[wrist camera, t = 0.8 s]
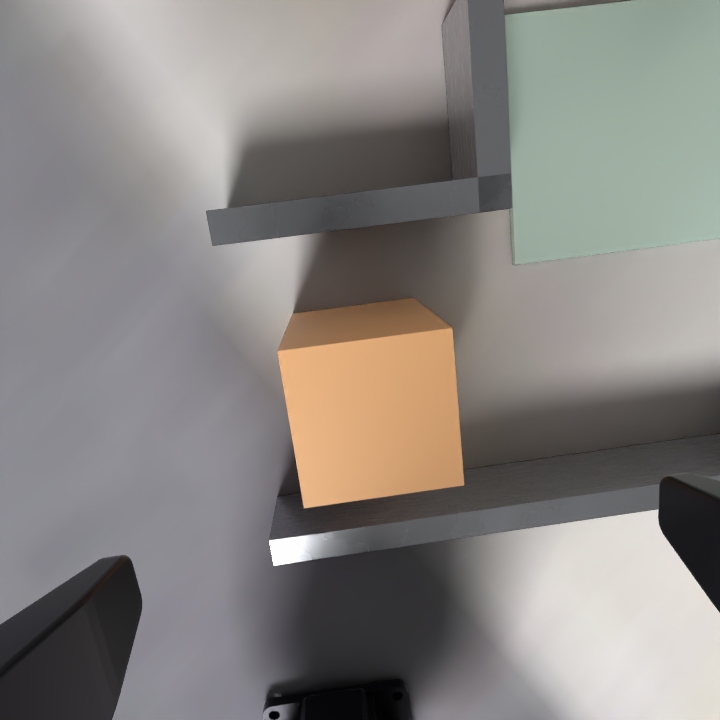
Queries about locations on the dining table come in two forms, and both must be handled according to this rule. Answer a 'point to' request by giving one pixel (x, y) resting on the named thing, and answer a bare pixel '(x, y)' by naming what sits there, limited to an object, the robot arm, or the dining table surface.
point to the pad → (613, 127)
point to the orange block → (371, 401)
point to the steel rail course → (441, 199)
